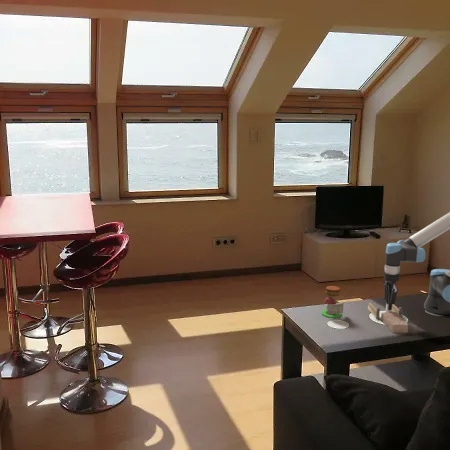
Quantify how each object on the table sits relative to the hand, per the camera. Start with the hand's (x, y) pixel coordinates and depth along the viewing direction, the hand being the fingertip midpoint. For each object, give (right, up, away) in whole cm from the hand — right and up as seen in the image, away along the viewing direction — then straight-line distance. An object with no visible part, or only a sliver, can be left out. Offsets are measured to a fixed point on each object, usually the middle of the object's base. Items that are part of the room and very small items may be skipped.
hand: (388, 314), depth 263 cm
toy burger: (-30, -1, +5) cm, 30 cm away
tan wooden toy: (-1, -1, +6) cm, 6 cm away
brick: (0, -4, -9) cm, 10 cm away
